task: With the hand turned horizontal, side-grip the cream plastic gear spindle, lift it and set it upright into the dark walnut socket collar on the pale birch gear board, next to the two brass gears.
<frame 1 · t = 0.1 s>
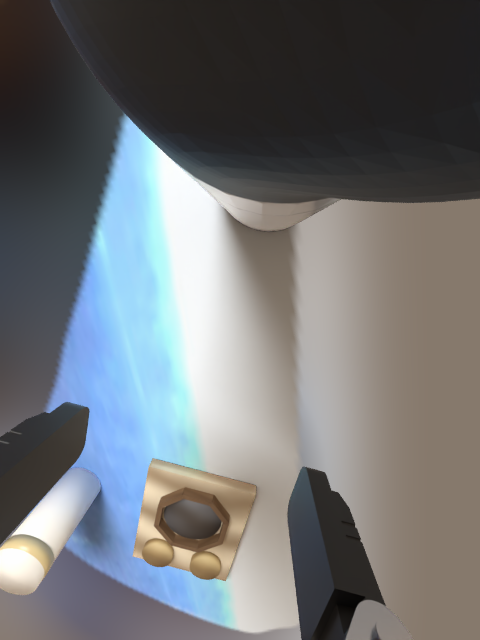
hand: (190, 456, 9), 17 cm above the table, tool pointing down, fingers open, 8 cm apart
gear board: (192, 518, 34), on the table
gear spindle: (82, 482, 34), on the table
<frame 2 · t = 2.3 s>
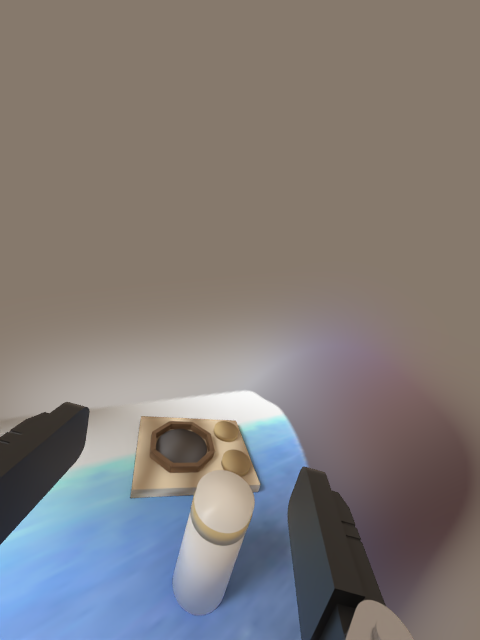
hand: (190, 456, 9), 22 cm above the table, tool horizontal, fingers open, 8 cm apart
gear board: (193, 454, 38), on the table
gear spindle: (199, 579, 24), on the table
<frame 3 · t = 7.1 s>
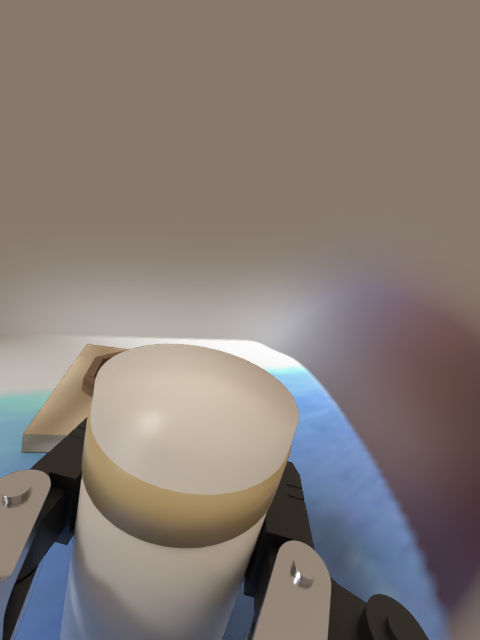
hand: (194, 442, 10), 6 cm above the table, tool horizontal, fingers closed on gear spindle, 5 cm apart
gear board: (166, 396, 23), on the table
gear spindle: (141, 638, 9), on the table, touching gripper
when the fingers open (9 cm above the table, at t = 12.3 s): gear spindle drops 1 cm, resting on gear board.
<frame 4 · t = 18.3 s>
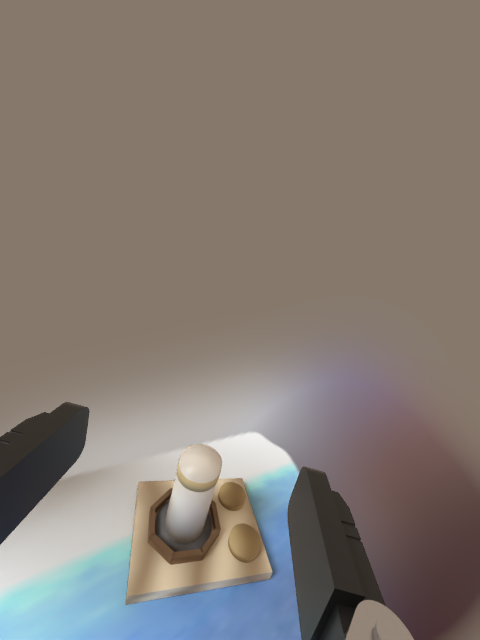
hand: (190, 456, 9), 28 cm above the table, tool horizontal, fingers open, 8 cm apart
gear board: (197, 529, 34), on the table
gear spindle: (184, 523, 33), point 1 cm above the table, touching gear board
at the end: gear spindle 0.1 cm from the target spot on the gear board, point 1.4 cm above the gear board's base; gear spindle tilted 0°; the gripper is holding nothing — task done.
